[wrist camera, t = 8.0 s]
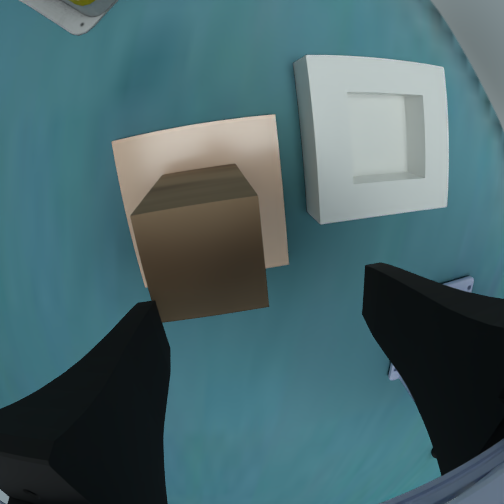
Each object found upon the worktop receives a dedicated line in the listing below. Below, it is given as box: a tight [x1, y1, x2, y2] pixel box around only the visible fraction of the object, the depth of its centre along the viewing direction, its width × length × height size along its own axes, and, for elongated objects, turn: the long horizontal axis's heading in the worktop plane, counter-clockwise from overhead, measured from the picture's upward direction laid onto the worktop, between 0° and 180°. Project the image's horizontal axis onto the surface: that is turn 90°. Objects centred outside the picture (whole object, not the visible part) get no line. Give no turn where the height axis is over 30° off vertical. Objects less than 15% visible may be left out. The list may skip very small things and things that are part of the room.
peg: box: [130, 164, 269, 322], centre depth 14 cm, size 4×4×8 cm
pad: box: [112, 114, 289, 288], centre depth 18 cm, size 9×9×1 cm
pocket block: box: [293, 55, 449, 225], centre depth 17 cm, size 9×9×2 cm
